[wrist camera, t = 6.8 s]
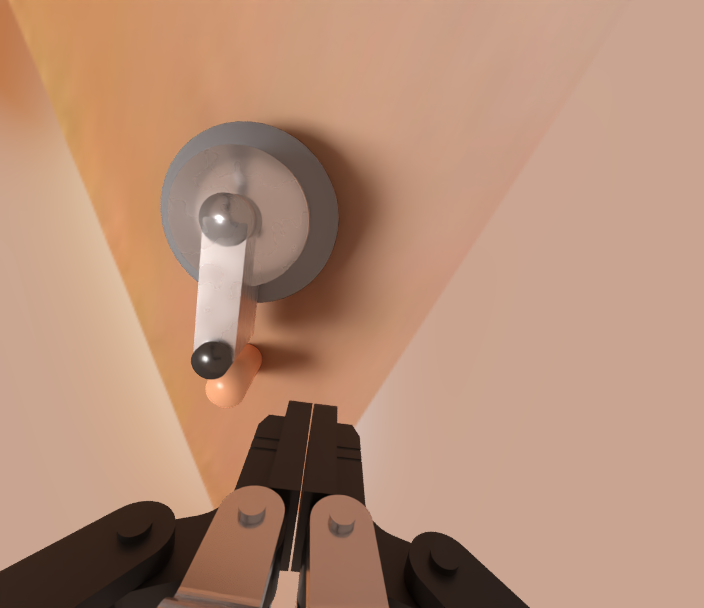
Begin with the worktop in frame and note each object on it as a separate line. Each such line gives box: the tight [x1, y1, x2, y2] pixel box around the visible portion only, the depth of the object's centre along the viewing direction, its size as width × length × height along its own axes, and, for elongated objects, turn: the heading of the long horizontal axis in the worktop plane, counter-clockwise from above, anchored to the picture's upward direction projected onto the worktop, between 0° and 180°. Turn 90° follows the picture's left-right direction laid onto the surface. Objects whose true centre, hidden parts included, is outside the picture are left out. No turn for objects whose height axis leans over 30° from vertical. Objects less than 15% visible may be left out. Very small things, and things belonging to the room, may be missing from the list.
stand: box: [161, 121, 339, 408], centre depth 21 cm, size 15×10×4 cm, turn 11°
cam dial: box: [168, 144, 311, 380], centre depth 18 cm, size 11×7×4 cm, turn 170°
